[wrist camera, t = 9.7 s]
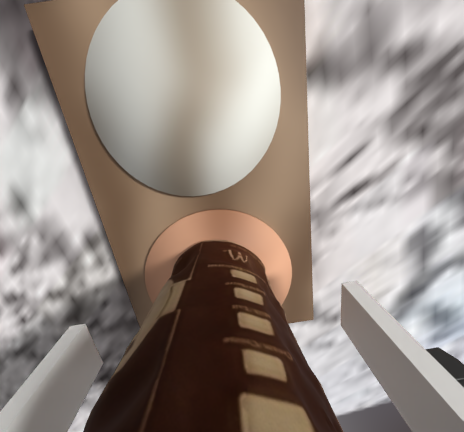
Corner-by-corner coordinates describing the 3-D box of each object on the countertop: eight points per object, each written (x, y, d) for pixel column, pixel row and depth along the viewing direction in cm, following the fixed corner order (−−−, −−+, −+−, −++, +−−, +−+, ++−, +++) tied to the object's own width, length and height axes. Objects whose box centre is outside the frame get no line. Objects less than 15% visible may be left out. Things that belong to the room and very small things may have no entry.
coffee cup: (164, 334, 16) (-19, 967, 4) (138, 231, 13) (-794, 1237, 1) (281, 321, 16) (474, 880, 4) (278, 216, 14) (853, 926, 1)
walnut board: (151, 332, 18) (145, 349, 16) (43, 18, 11) (18, 0, 10) (307, 308, 18) (315, 322, 16) (294, -19, 11) (305, -43, 10)
